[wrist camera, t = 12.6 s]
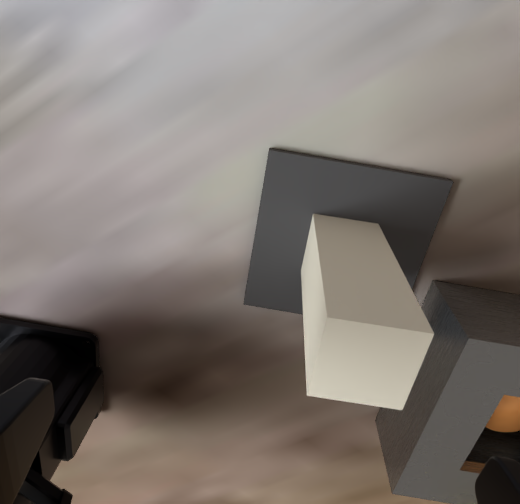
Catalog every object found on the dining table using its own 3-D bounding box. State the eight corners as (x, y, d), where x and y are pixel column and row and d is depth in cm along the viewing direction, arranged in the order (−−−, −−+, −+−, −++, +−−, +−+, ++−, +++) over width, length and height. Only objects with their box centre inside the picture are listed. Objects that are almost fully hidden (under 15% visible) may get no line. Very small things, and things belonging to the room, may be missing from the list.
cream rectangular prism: (301, 270, 20) (306, 395, 13) (313, 213, 18) (327, 317, 11) (361, 279, 20) (402, 410, 13) (378, 223, 18) (434, 333, 11)
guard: (375, 420, 24) (392, 493, 20) (432, 280, 20) (468, 338, 16) (537, 447, 24) (586, 525, 20) (631, 314, 20) (716, 380, 16)
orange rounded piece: (451, 396, 22) (465, 426, 21) (476, 349, 21) (493, 377, 19) (511, 406, 22) (530, 437, 21) (540, 360, 21) (563, 389, 19)
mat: (244, 300, 21) (243, 304, 21) (269, 148, 18) (268, 150, 17) (394, 325, 21) (395, 330, 21) (450, 179, 18) (453, 181, 17)
